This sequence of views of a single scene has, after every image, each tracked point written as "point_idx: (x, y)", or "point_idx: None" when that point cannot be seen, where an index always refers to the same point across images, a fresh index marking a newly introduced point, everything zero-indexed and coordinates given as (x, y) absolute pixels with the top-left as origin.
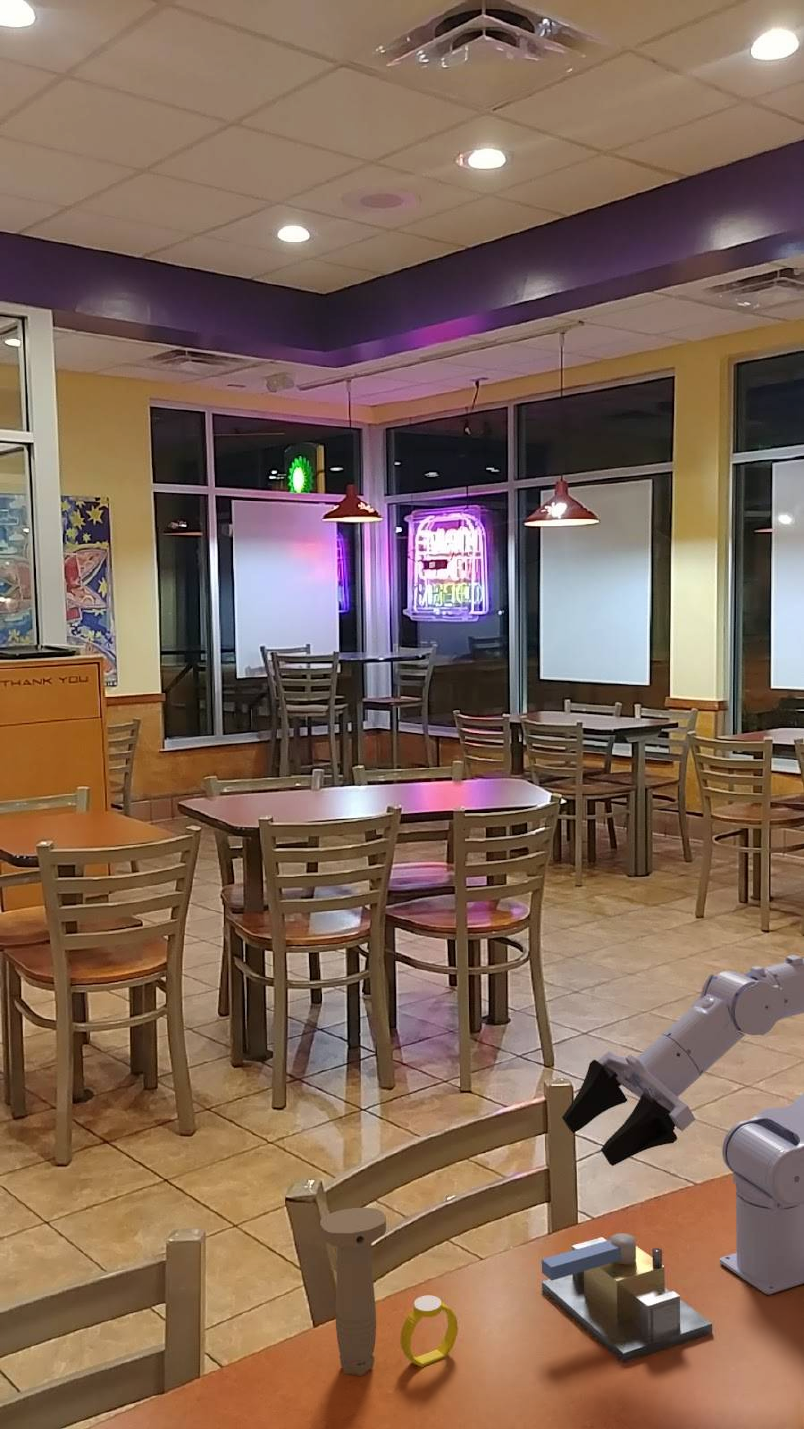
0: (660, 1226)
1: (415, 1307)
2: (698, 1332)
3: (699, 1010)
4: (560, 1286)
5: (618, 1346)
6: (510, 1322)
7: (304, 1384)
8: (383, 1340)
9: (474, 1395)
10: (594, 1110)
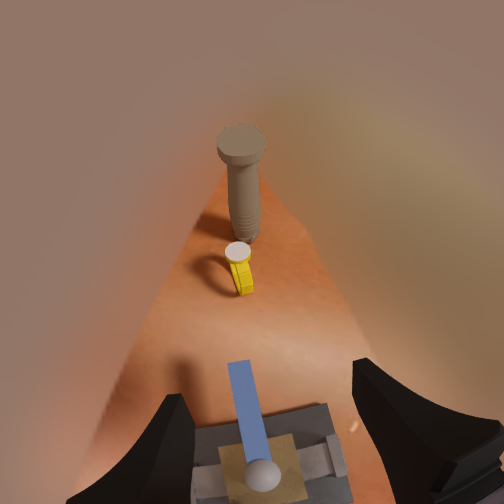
0: None
1: (235, 242)
2: None
3: None
4: (311, 418)
5: None
6: (275, 358)
7: None
8: (276, 256)
9: (183, 299)
10: (383, 446)
